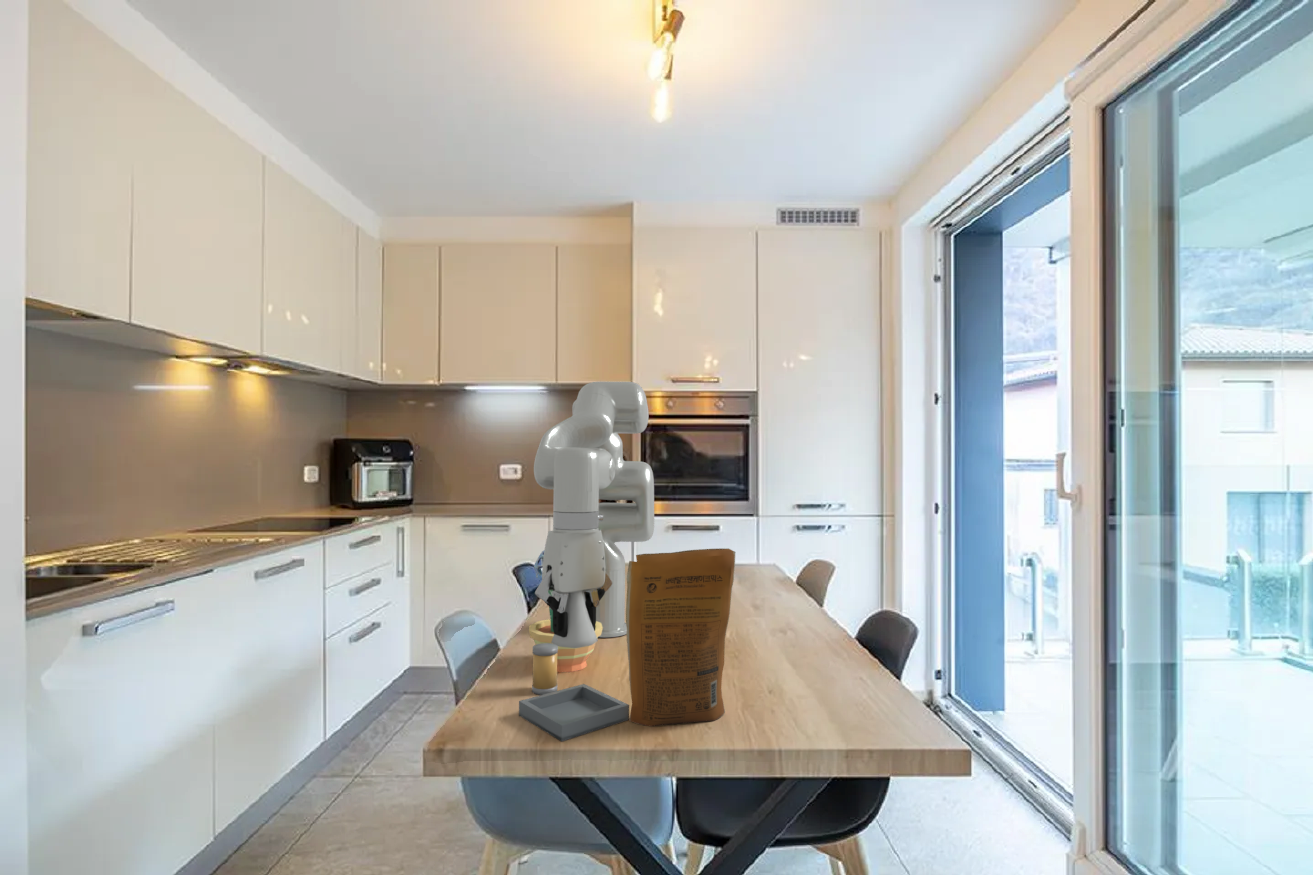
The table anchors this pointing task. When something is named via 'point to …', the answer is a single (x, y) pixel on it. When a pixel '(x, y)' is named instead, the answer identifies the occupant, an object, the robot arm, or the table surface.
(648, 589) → the pancake mix bag
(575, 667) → the potted cactus
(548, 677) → the fuse
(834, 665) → the table surface
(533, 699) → the tray
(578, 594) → the flask
